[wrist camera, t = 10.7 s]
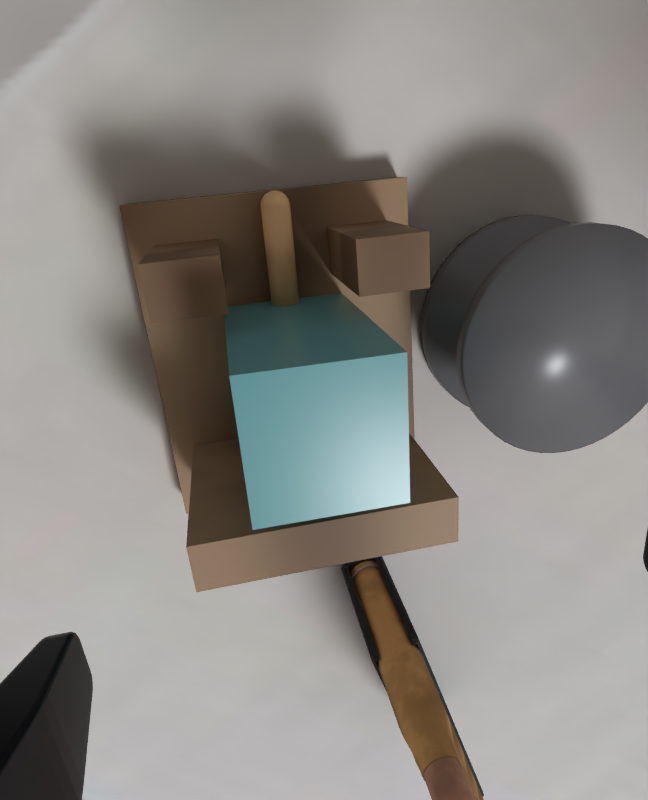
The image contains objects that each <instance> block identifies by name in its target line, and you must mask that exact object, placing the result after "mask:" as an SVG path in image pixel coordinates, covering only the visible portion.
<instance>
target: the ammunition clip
mask: <svg viewBox="0 0 648 800" xmlns="http://www.w3.org/2000/svg"><path fill="white" fill-rule="evenodd" d="M341 569H342V572H343V575H344V578H345V581H346V584H347V587H348V590H349V593H350V596H351V599H352V602H353V605H354V608H355V612H356V615H357V618H358V621H359V624H360V627H361V630H362V633H363V636H364V639H365V642H366V645H367V648H368V651H369V654H370V657H371V660H372V662H373V664H374V666H375V668H376V670H377V672H378V674H379V676H380V679H381V681H382V683H383V685H384V687H385V689H386V691H387V693H388V696H389V699H390V702H391V705H392V708H393V711H394V713H395V716H396V719H397V722H398V725H399V728H400V730H401V733H402V735H403V737H404V739H405V741H406V742H407V744H408V746H409V748H410V749H411V751H412V753H413V756H414V758H415V761H416V763H417V765H418V767H419V769H420V772H421V774H422V777H423V779H424V781H425V782H426V784H427V787H428V790H429V793H430V795H431V798H432V800H484V799H483V796H484V794H483V791H482V789H481V786H480V784H479V782H478V779H477V777H476V774H475V772H474V770H473V767H472V765H471V762H470V760H469V758H468V755H467V753H466V751H465V748H464V746H463V743H462V741H461V739H460V736H459V734H458V732H457V729H456V727H455V724H454V722H453V720H452V717H451V715H450V713H449V710H448V708H447V705H446V703H445V701H444V698H443V696H442V693H441V691H440V689H439V686H438V684H437V682H436V679H435V677H434V674H433V672H432V670H431V667H430V665H429V663H428V660H427V658H426V655H425V653H424V651H423V648H422V646H421V644H420V641H419V639H418V637H417V634H416V632H415V630H414V628H413V625H412V623H411V621H410V619H409V616H408V614H407V612H406V610H405V607H404V605H403V603H402V601H401V598H400V596H399V594H398V592H397V589H396V587H395V585H394V583H393V580H392V578H391V576H390V574H389V571H388V569H387V567H386V565H385V562H384V560H383V558H382V556H380V557H374V558H369V559H364V560H359V561H354V562H351V563H348V564H346V565H344V566H342V568H341Z"/></svg>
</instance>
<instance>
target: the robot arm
mask: <svg viewBox="0 0 648 800" xmlns="http://www.w3.org/2000/svg"><path fill="white" fill-rule="evenodd" d="M643 560H644V564H645V567H646V569H647V571H648V530H647V536H646V542H645V548H644V554H643ZM92 691H93V683H92V675H91V671H90V668H89V665H88V662H87V659H86V656H85V654H84V651H83V648H82V645H81V642H80V639H79V637H78V636H77V634H76V633H73V632H67V633H62V634H57V635H52V636H48V637H45V638H44V639H42V640H41V641H40V642H39V643H38V644H37V645H36V646H35V647H34V648H33V649H32V650H31V651H30V653H29V654H28V655H27V656H26V657H25V658H24V659H23V660H22V661H21V662H20V663H19V664H18V665H17V666H16V667H15V668H14V670H13V671H12V672H11V673H10V674H9V675H8V676H7V677H6V678H5V679H4V680H3V681H2V682H1V683H0V800H82V793H83V785H84V774H85V764H86V754H87V743H88V733H89V723H90V712H91V702H92Z"/></svg>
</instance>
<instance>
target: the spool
mask: <svg viewBox="0 0 648 800" xmlns="http://www.w3.org/2000/svg"><path fill="white" fill-rule="evenodd" d="M421 341H422V347H423V351H424V356H425V358H426V361H427V364H428V366H429V368H430V370H431V372H432V374H433V375H434V377H435V378H436V380H437V381H438V382H439V383H440V385H441V386H442V387H443V388H444V389H445V390H446V391H447V392H449V393H450V394H451V395H452V396H453V397H454V398H455V399H457V400H458V401H460V402H461V403H462V404H464V405H466V406H468V407H470V409H471V411H472V412H473V413H474V415H475V416H476V417H477V418H478V420H479V421H480V422H481V423H483V424H484V425H485V426H486V427H487V428H488V429H489V430H490V431H491V432H492V433H493V434H494V435H496V436H497V437H499V438H500V439H501V440H503V441H504V442H506V443H508V444H510V445H512V446H515V447H517V448H520V449H523V450H527V451H532V452H539V453H557V452H565V451H570V450H574V449H579V448H582V447H584V446H587V445H590V444H593V443H595V442H597V441H599V440H601V439H603V438H605V437H607V436H608V435H610V434H611V433H613V432H615V431H616V430H618V429H619V428H620V427H622V426H623V425H624V424H626V423H627V422H628V421H629V420H631V419H632V418H633V417H634V416H635V415H636V414H637V413H638V412H639V411H640V410H641V409H642V408H643V407H644V406H645V404H646V403H647V402H648V239H647V238H646V237H644V236H643V235H641V234H639V233H637V232H635V231H633V230H631V229H627V228H624V227H620V226H617V225H608V224H600V223H591V222H586V223H572V224H570V223H568V222H566V221H563V220H560V219H556V218H551V217H543V216H534V215H526V216H515V217H510V218H505V219H502V220H499V221H496V222H493V223H491V224H489V225H487V226H485V227H483V228H481V229H479V230H478V231H476V232H475V233H473V234H472V235H470V236H469V237H468V238H466V239H465V240H464V241H463V242H462V243H460V244H459V245H458V246H457V247H456V248H455V249H454V250H453V251H452V253H451V254H450V255H449V256H448V257H447V258H446V260H445V261H444V262H443V264H442V265H441V267H440V268H439V270H438V272H437V273H436V275H435V277H434V278H433V280H432V283H431V285H430V288H429V290H428V292H427V295H426V299H425V302H424V305H423V311H422V317H421Z"/></svg>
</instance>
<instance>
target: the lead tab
mask: <svg viewBox="0 0 648 800" xmlns="http://www.w3.org/2000/svg"><path fill="white" fill-rule="evenodd" d="M261 215H262V223H263V232H264V241H265V250H266V259H267V267H268V276H269V285H270V294H271V301H268V302H259V303H251V304H242V305H233V306H228V310H229V314H224V320H225V331H226V343H227V355H228V367H229V377H230V384H231V391H232V397H233V404H234V410H235V417H236V424H237V430H238V437H239V443H240V450H241V457H242V463H243V470H244V477H245V483H246V490H247V496H248V503H249V510H250V516H251V523H252V529H253V530H256V529H262V528H267V527H273V526H279V525H285V524H291V523H296V522H302V521H308V520H314V519H319V518H325V517H331V516H337V515H343V514H348V513H354V512H360V511H366V510H371V509H377V508H383V507H389V506H395V505H400V504H406V503H410V463H409V413H408V364H407V352H406V351H405V350H404V349H403V348H402V347H401V346H400V345H399V344H398V343H396V342H395V341H394V340H393V339H392V338H391V337H390V336H389V335H388V334H387V333H385V332H384V331H383V330H382V329H381V328H380V327H379V326H378V325H377V324H375V323H374V322H373V321H372V320H371V319H370V318H369V317H368V316H367V315H366V314H364V313H363V312H362V311H361V310H360V309H359V308H358V307H357V306H356V305H354V304H353V303H352V302H351V301H350V300H349V299H348V298H347V297H346V296H344V295H343V294H342V293H337V294H328V295H320V296H311V297H302V298H299V293H298V283H297V272H296V262H295V251H294V240H293V230H292V219H291V209H290V202H289V199H288V198H287V196H286V195H285V194H284V193H282V192H280V191H270V192H268V193H266V194H265V195H264V197H263V198H262V201H261Z"/></svg>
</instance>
